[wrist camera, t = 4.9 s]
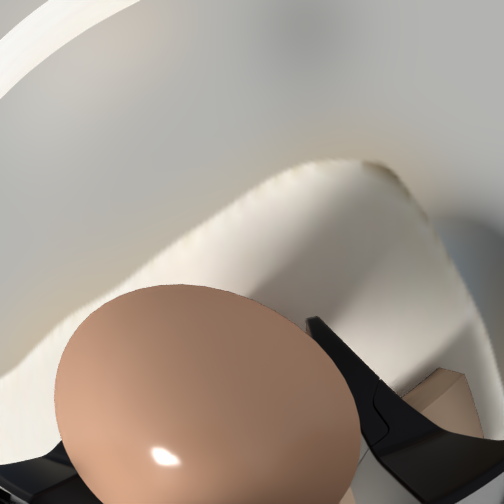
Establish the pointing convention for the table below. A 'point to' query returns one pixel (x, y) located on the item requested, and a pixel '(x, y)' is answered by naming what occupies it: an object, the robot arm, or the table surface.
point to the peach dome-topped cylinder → (203, 403)
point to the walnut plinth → (442, 407)
